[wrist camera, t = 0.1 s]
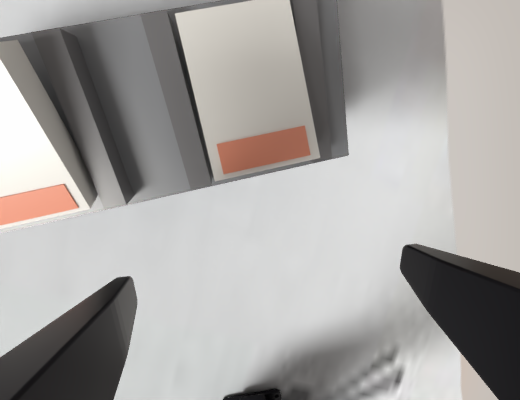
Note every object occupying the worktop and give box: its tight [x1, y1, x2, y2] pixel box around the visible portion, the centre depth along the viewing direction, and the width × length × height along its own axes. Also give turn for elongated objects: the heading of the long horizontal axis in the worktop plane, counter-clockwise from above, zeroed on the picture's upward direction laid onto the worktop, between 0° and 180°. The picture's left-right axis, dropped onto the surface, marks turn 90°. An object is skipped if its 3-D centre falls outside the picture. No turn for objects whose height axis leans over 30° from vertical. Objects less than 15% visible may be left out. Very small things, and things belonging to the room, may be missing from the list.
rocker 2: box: [175, 0, 320, 181], centre depth 12 cm, size 6×4×2 cm
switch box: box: [0, 0, 349, 233], centre depth 16 cm, size 8×20×9 cm, turn 100°
